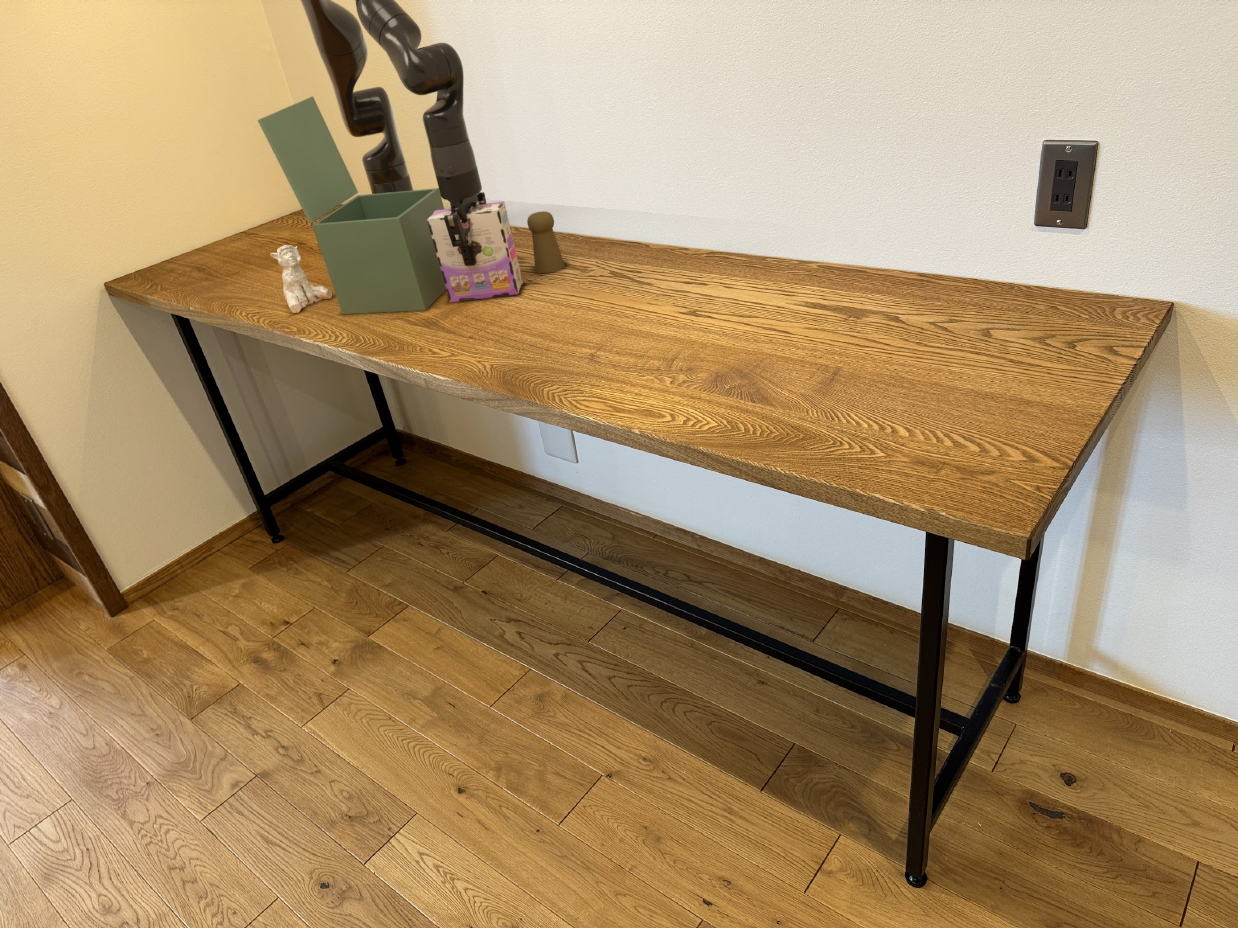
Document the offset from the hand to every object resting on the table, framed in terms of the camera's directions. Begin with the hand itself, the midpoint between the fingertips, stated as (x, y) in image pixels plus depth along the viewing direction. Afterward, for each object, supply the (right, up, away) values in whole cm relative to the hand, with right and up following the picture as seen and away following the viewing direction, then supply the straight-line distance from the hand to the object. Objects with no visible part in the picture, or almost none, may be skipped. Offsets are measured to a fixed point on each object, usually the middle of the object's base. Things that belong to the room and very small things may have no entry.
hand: (477, 257), depth 167 cm
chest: (-17, -5, +11) cm, 20 cm away
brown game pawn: (+13, 0, +11) cm, 17 cm away
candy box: (+1, -6, +4) cm, 7 cm away
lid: (-31, +18, -1) cm, 36 cm away
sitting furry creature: (-38, -6, +16) cm, 42 cm away
